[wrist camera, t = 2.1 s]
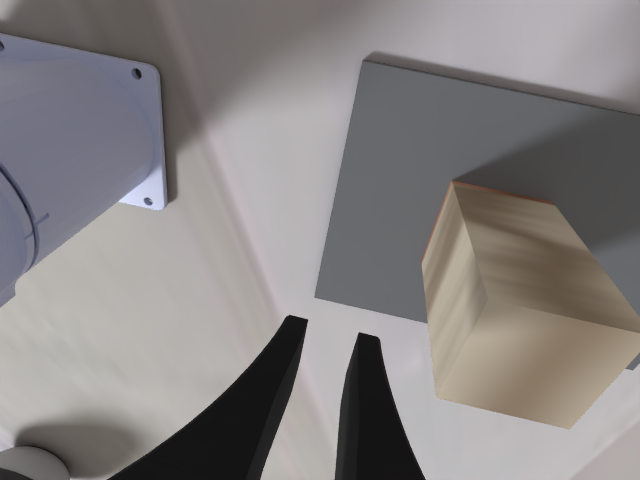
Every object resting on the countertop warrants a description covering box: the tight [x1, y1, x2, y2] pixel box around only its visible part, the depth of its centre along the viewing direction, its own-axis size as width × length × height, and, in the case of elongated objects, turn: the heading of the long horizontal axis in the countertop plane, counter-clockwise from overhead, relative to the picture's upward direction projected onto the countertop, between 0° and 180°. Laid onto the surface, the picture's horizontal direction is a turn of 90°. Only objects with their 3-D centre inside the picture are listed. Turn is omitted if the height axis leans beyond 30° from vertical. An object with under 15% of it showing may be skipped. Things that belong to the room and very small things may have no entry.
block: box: [421, 180, 640, 429], centre depth 17 cm, size 5×5×9 cm
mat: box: [314, 60, 640, 370], centre depth 21 cm, size 20×14×1 cm
